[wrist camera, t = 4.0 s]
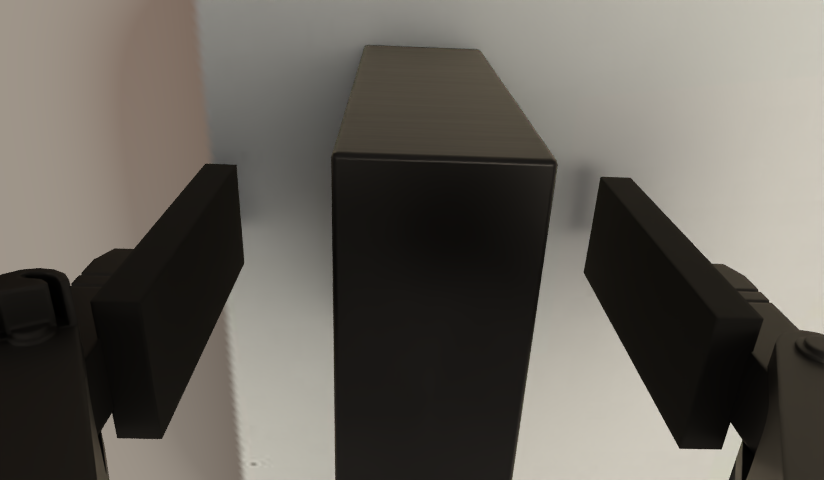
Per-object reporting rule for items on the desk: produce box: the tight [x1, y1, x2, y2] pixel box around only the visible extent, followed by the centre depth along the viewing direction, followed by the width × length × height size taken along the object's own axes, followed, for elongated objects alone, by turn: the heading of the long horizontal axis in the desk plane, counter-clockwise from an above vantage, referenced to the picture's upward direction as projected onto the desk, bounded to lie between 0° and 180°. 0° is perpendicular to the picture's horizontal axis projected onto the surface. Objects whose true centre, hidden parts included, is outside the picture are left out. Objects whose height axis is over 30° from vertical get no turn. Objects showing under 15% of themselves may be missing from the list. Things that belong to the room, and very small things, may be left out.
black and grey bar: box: [331, 45, 558, 480], centre depth 16 cm, size 18×3×9 cm, turn 178°
